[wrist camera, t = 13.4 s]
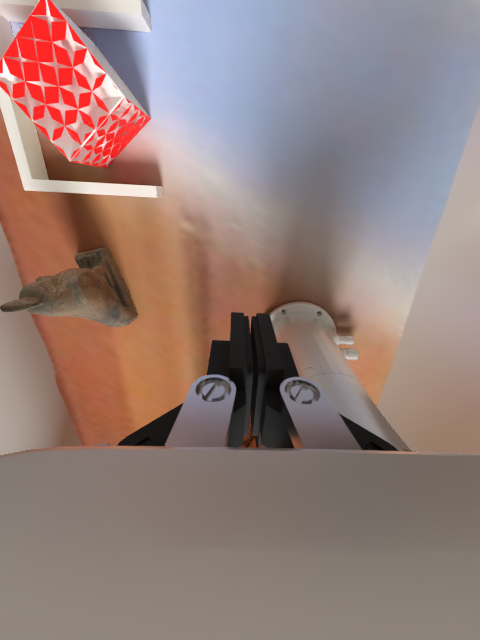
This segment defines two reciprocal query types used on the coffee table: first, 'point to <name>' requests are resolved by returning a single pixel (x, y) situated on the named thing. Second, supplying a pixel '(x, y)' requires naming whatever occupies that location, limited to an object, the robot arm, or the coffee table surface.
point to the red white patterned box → (69, 88)
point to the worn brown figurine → (81, 292)
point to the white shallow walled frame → (16, 6)
